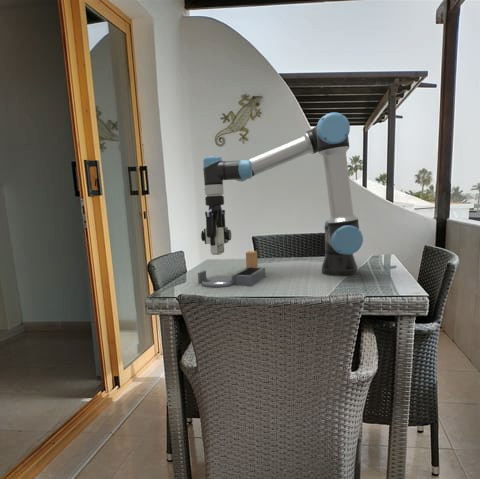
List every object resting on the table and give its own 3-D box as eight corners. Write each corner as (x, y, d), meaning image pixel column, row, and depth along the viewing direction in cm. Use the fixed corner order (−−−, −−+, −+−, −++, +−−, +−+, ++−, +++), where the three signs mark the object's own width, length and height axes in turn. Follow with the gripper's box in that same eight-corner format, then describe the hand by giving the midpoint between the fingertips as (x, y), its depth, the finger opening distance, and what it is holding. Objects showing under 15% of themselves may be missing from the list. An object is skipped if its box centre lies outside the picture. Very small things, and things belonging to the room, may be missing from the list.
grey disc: (246, 279, 152) (245, 269, 151) (231, 288, 138) (231, 277, 138) (209, 278, 159) (208, 268, 158) (192, 286, 145) (191, 275, 145)
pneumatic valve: (229, 254, 143) (228, 225, 142) (202, 255, 146) (200, 226, 144) (233, 252, 149) (231, 224, 147) (206, 253, 151) (204, 225, 150)
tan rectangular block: (258, 272, 165) (256, 251, 164) (255, 274, 161) (253, 252, 160) (250, 272, 167) (248, 251, 165) (246, 274, 163) (245, 252, 162)
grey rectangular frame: (265, 276, 156) (265, 267, 155) (251, 286, 140) (251, 276, 140) (247, 275, 159) (247, 267, 159) (232, 285, 144) (231, 275, 143)
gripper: (216, 195, 154) (219, 248, 157) (194, 196, 137) (198, 255, 140) (232, 194, 151) (235, 248, 154) (212, 195, 134) (215, 255, 137)
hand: (217, 251), depth 147 cm, fingers closed on pneumatic valve, 5 cm apart
